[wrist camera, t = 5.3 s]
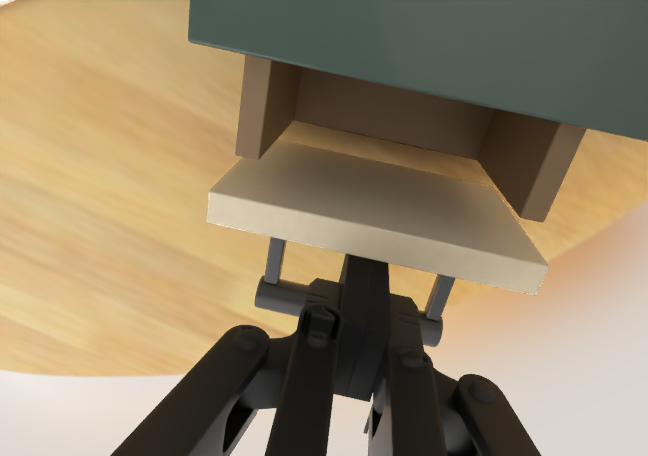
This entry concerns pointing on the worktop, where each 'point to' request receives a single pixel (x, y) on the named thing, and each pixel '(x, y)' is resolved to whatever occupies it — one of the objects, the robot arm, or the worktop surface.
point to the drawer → (389, 184)
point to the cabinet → (459, 50)
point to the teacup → (5, 2)
